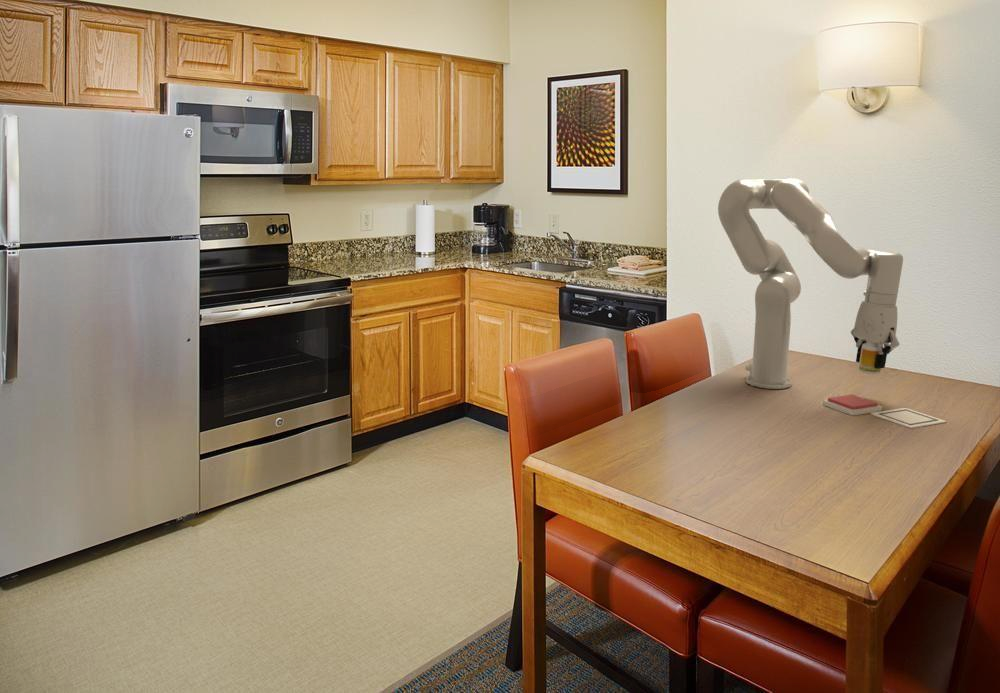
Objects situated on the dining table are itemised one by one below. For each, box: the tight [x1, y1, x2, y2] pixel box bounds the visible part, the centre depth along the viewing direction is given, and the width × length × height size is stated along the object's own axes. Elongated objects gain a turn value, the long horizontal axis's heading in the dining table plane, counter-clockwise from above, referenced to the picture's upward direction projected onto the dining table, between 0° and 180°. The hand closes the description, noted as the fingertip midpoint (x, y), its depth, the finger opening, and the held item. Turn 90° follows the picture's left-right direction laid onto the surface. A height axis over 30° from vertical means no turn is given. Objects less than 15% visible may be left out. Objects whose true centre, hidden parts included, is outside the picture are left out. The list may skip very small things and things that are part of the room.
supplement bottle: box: [858, 340, 884, 375], centre depth 207 cm, size 5×5×10 cm
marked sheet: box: [870, 407, 948, 429], centre depth 193 cm, size 12×12×1 cm
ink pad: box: [822, 394, 883, 416], centre depth 202 cm, size 10×10×2 cm
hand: (870, 364), depth 208 cm, fingers closed on supplement bottle, 5 cm apart
